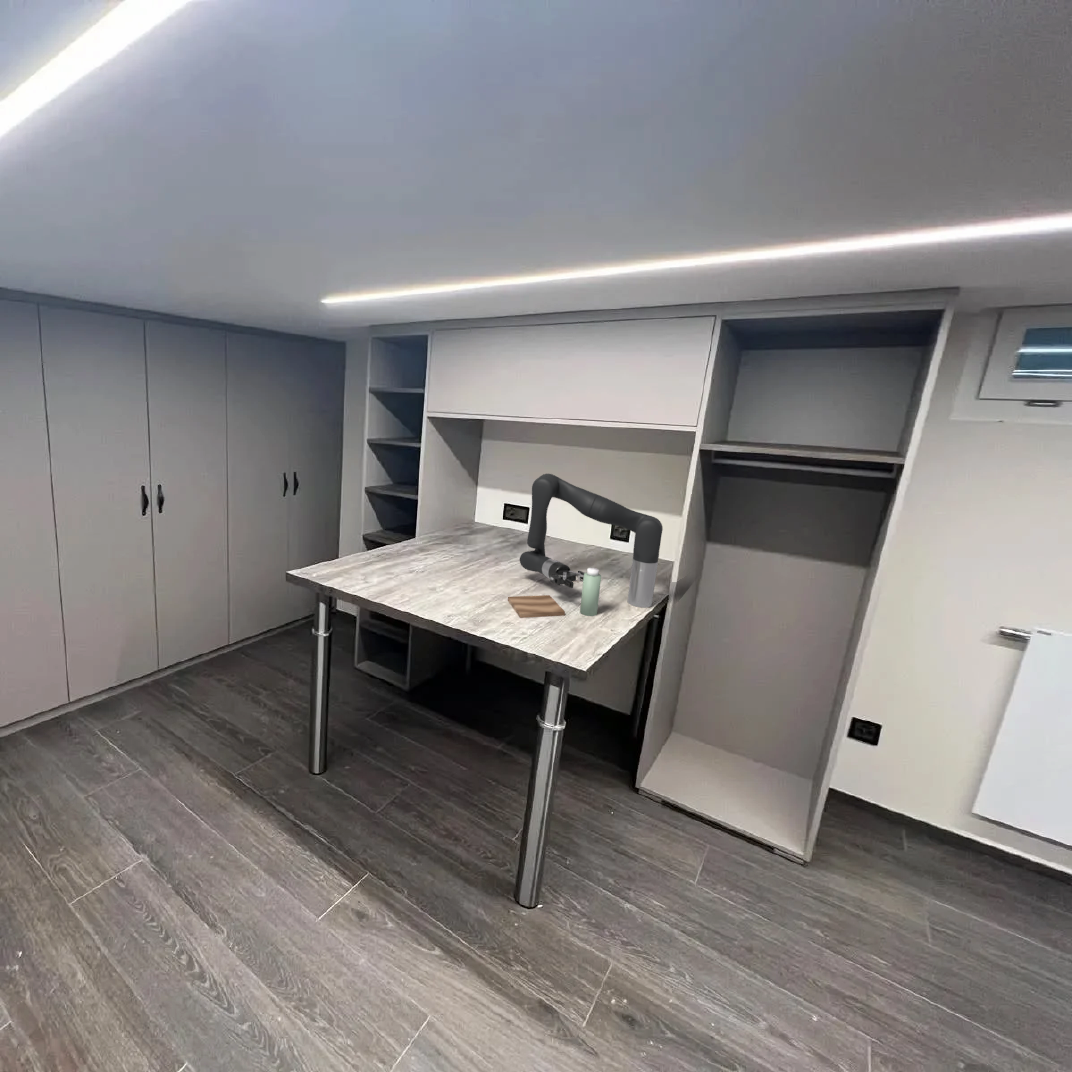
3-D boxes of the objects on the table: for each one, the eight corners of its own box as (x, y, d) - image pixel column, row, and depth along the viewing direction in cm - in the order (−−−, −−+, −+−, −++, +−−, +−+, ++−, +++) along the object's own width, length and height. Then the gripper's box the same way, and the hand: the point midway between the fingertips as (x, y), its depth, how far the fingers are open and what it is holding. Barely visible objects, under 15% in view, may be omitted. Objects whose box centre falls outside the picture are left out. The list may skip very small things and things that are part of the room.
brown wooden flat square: (507, 600, 182) (507, 596, 181) (549, 598, 187) (549, 595, 187) (520, 617, 167) (520, 613, 167) (564, 615, 172) (565, 611, 172)
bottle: (583, 608, 180) (588, 565, 177) (599, 612, 178) (604, 569, 174) (577, 613, 175) (581, 569, 171) (593, 617, 172) (598, 573, 169)
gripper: (541, 563, 187) (567, 576, 174) (571, 559, 195) (598, 571, 181) (539, 582, 188) (565, 596, 175) (569, 578, 196) (596, 591, 183)
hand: (582, 584), depth 178 cm, fingers open, 8 cm apart
